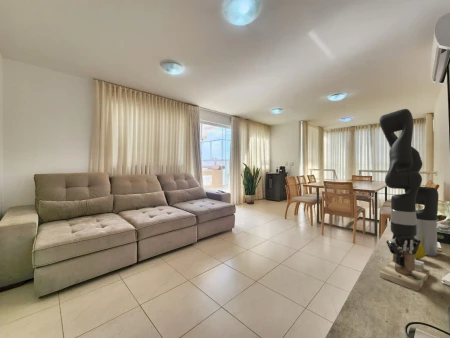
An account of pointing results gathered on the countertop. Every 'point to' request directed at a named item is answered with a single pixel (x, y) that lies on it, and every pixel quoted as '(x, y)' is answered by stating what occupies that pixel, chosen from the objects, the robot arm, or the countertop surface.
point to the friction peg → (406, 264)
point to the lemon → (420, 252)
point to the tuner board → (406, 280)
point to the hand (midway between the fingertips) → (403, 264)
